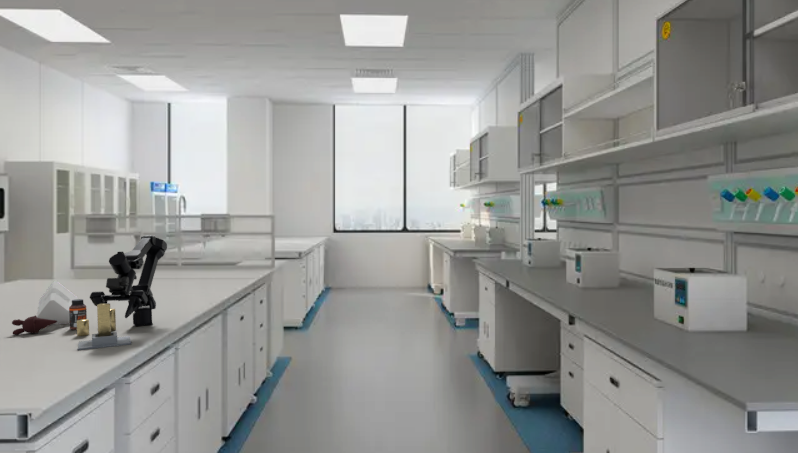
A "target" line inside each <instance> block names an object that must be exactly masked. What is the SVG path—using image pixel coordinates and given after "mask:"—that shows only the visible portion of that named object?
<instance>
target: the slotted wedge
mask: <svg viewBox="0 0 798 453" xmlns="http://www.w3.org/2000/svg"><path fill="white" fill-rule="evenodd" d="M39 298H40V299H39V300H38V301H39V302H38V306H37V311H36V317H37V318H43V319H49V320H56V321H57V322H56V323H54V324H52V325H64V324H70V321H69V307H70V306H71V305H72V300H75V299H79V297H78V295H76V294H75V293H73V292H72V291H71V290H69V289H68V288H67V287H65V285H63V284H62V283H60V281H58V280H54V281H52V282H51V284H50V286H48V288H47V289H46V291H44V293H43V295H41V297H39ZM52 325H51V326H52Z"/></svg>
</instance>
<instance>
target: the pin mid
mask: <svg viewBox="0 0 798 453" xmlns="http://www.w3.org/2000/svg"><path fill="white" fill-rule="evenodd" d="M110 314H111V332H116V330H117V323H116V322H117V321H116V318H117V317H116V315H117V314H116V308H110Z"/></svg>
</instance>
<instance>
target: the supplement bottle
mask: <svg viewBox="0 0 798 453" xmlns="http://www.w3.org/2000/svg"><path fill="white" fill-rule="evenodd" d="M87 316H88V315H87V305H86V304H85V303H84V299H82V298H80V299H79V298H78V299H75V300H72V305H71V306H70V307H69V321H70V323H69V330H72V331H73V330H74V331H75V330H76V331H77V320H82V319H88V317H87Z"/></svg>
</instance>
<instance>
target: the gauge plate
mask: <svg viewBox="0 0 798 453" xmlns="http://www.w3.org/2000/svg"><path fill="white" fill-rule="evenodd" d="M129 345H132V340H131V336H130V335H128V336H127V335H126V336H119V337H118V331H111V336H103V337H98V333H92V334H91V339H90V340H81V341H78V346H77V351H85V350H93V349H102V348H111V347H119V346H120V347H121V346H129Z"/></svg>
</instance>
